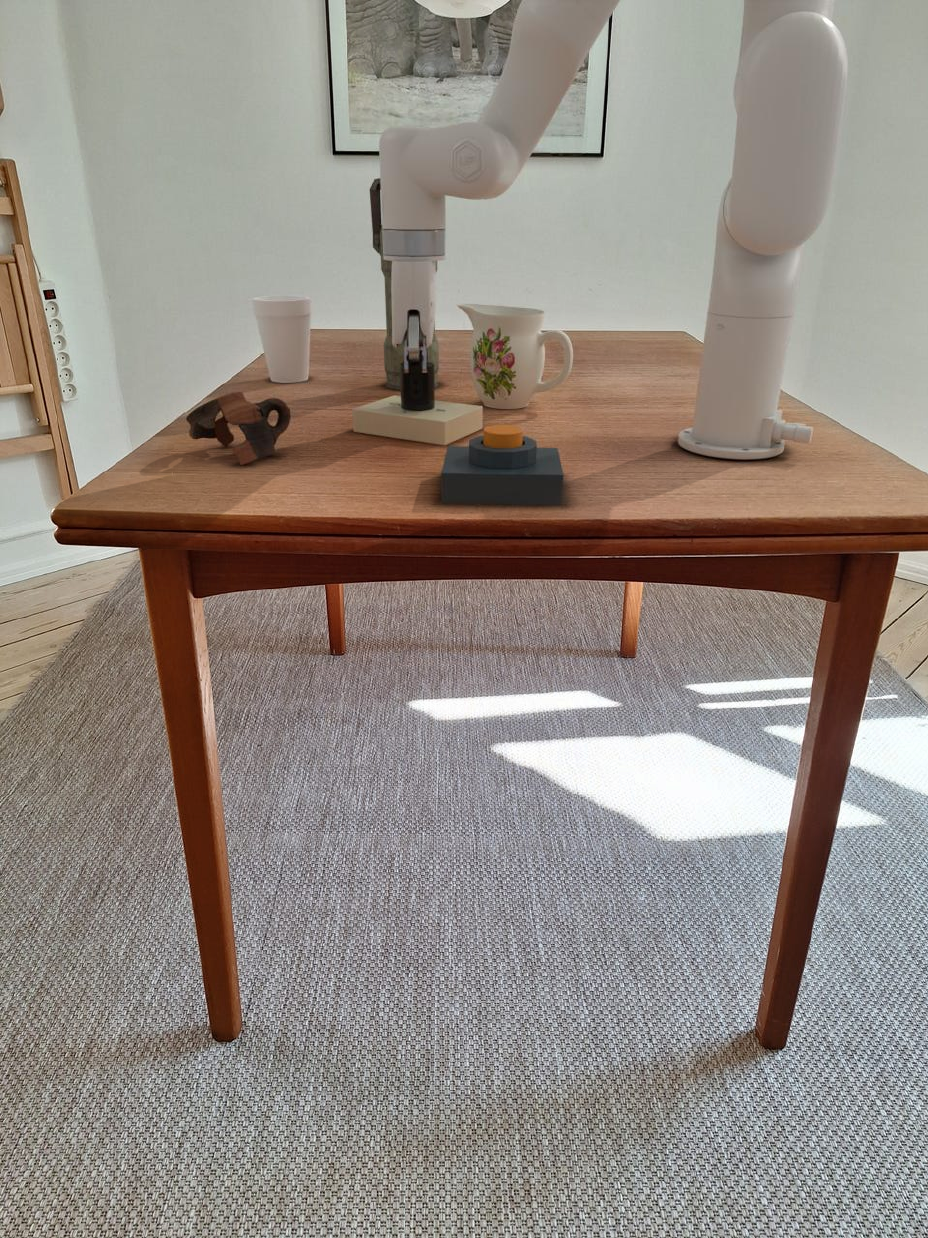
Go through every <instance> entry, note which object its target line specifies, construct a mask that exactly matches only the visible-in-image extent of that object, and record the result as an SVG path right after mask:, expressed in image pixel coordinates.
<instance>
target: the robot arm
mask: <svg viewBox="0 0 928 1238" xmlns="http://www.w3.org/2000/svg"><path fill="white" fill-rule="evenodd" d="M620 1H621V0H521V2H520V3H519V6H518V8H517V11H516V14H515V17H514V21H513V25H512V29H511V30H512V31H511V37H510V44H509V48H508V53H507V57H506V61H505V64H504V67H503V69H502V73H501V75H500V78H499V79H498V82H497V85H496V86H495V89H494V91H492V94H491V95H490V98H489V100H488V102H487V104H486V105H485V107H484V109H483V111H482V112H481V114H480V116H479V118H478V119H477V121H469V122H462V123H456V124H451V125H445V126H439V127H438V126H437V127H430V126H418V125H402V126H401V125H400V126H392V127H388V128H386V129H385V130H383V131H382V133H381V134H380V136H379V142H378V143H379V144H378V153H379V156H378V157H379V178H380V183H381V190H380V198H381V223H382V229H383V230H382V235H383V254H384V255H383V260H389V261H392V275H391V297H392V345H393V346H394V347H395V348H398V346H399V344H402V341H403V339H404V370H405V372H403V386H404V404H405V405H428V404H429V372H427V362H428V347H429V346H430V345H431V344H432V339H433V332H434V323H435V324H436V298H437V297H436V296H437V295H436V294H437V293H436V292H437V291H436V289H437V287H436V284H437V283H436V282H437V281H436V279H437V278H436V277H437V276H436V275H437V272H436V269H435V261H437V262H438V261H440V262H441V261H446V197H454V198H459V199H465V200H473V201H475V200H478V201H479V200H492V199H495V198H498V197H500V196H501V195H503V194H504V193H505V192H506V191H508V189H510V188H511V186H512V185H513V184H514V182H515V181H516V180H517V178H518V176H519V175H520V173H521V172H522V170H523V168H524V167H525V165H526V164H527V162H528V160H529V159H530V157H531V155H532V154H533V152H534V151H535V149H536V147H537V146H538V144H539V142H540V141H541V139H542V137H543V136H544V135H545V132H546V130H547V129H548V127H549V126H550V123H551V121H552V120H553V118H554V116H555V114H556V112H557V111H558V109H559V107H560V105H561V103H562V101H563V99H564V98H565V96H566V95H567V92H568V91H569V90H570V88H571V86H572V84H573V83H574V81H575V79H576V77H577V75H578V73H579V71H580V69H581V66H582V64H583V63H584V61H585V59H586V58H587V56H588V54H589V52H590V51H591V49H592V48H593V46H594V44H595V43H596V41H597V39H598V38H599V36H600V34H602V31H603V29H604V28H605V26H606V24H607V23H608V21H609V20H610V18H611V16H612V15H613V13H614V11H615V10H616V8H617V7H618V5H619V3H620ZM835 1H836V0H744V2H743V16H742V26H741V37H740V46H739V55H738V63H737V68H736V69H737V70H736V73H735V76H734V77H735V78H734V83H733V94H732V95H733V105H734V108H735V112H736V115H737V116H736V128H735V139H734V150H733V160H732V161H733V162H732V172H731V177H730V179H729V181H728V182H727V184H726V186H725V188H724V190H723V193H722V195H721V199H720V203H719V207H718V214H717V223H716V235H715V247H714V257H713V267H712V275H711V283H710V292H709V299H708V307H707V312H706V313H707V314H706V320H705V328H704V335H703V336H704V337H703V344H702V351H701V352H702V353H701V359H700V367H699V375H698V381H697V388H696V389H697V390H696V397H695V403H694V413H693V419H692V427H689V428H686V429H683V430H681V431H680V432H679V433H678V437H677V444H678V445H679V446H680V447H681V448H683V449H685V450H686V451H688V452H690V453H694V454H697V455H701V456H705V457H711V458H717V459H727V460H745V461H747V460H748V461H749V460H762V459H763V460H765V459H770V458H773V457H776V456H779V455H780V454H782V453H783V452H784V449H785V441H792V442H793V443H798V444H799V443H801V444H808V445H809V444H811V441H812V438H813V433H814V426H807V425H806V423H800V422H788V421H787V422H786V419H782V416H783V410H782V409H778V406H779V401H780V395H781V391H782V384H783V378H784V372H785V367H786V361H787V357H788V356H787V355H788V349H789V344H790V338H791V333H792V326H793V322H794V316H795V313H796V306H797V301H798V297H799V290H800V282H801V275H802V268H803V260H804V259H803V258H804V249H805V243H806V242H807V241H808V240H809V239H810V238H811V237H812V236H813V235H814V234H815V233H816V231H817V230H818V229H819V227H820V225H821V224H822V222H823V221H824V219H825V216H826V213H827V211H828V208H829V205H830V201H831V195H832V191H833V185H834V180H835V173H836V167H837V159H838V154H839V147H840V146H839V145H840V139H841V131H842V125H843V117H844V111H845V103H846V95H847V88H848V78H849V77H848V75H849V61H848V58H849V57H848V50H847V46H846V42H845V39H844V38H843V35H842V33H841V31H840V30H839V28H838V27H837V26H836V25H835V24H834V22H833V20H834V19H833V17H834V10H835Z"/></svg>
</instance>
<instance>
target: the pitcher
mask: <svg viewBox="0 0 928 1238" xmlns="http://www.w3.org/2000/svg"><path fill="white" fill-rule="evenodd" d="M456 306H457V307H458V308H459V309H460V310H461V311H463V312H464V313H465V314H466V315H467V317H468V319H469V321H470V323H471V326H472V330H473V334H472V337H471V341H470V347H469V366H470V374H471V378H472V382H473V385H474V388H475V391H476V393H477V395H478V397H479V399H480V401H482V403H483V405H484V406H485V407H486V408H491V409H497V410H517V409H523V408H526V407H528V406H529V404H530V403H531V401H532V400H533V398H534V397H535V395H537V394H539V393H545V392H549V391H552V390H554V389H557V388H558V387H559V386H561V385H562V384H563V383H564V382H565V381H566V380H567V379H568V377H569V376H570V373H571V371H572V369H573V362H574V349H573V344H572V342H571V339H570V337H569V336H568V334H566V332H564V331H562V330H560V329H551V330H548V331H545V332H542V326H543V322H544V318H545V311H544V310H542V309H538V308H537V309H536V308H529V307H518V306H507V305H493V304H478V303H477V304H475V303H458V304H456ZM550 340H557V341H558V342H560V344H561V346H562V348H563V353H564V361H563V365H562V368H561V370H560V372H559V373H558V374H557V375H556V376H555V377H554V378H552V379H551V380H549V381H545V382H542V377H543V373H544V367H545V359H546V349H545V344H546V342H548V341H550Z"/></svg>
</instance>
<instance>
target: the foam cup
mask: <svg viewBox="0 0 928 1238" xmlns="http://www.w3.org/2000/svg"><path fill="white" fill-rule="evenodd" d="M251 301H252V309H253V310H252V311H253V315H255V320H256V324H257V329H258V333H259V337H260V341H261V345H262V349H263V354H264V360H265V363H266V366H267V371H268V376H269V377H270V381H271V382H273V383H278V384H279V383H281V384H293V383H302V382H306V381H307V380H309V374H310V373H309V372H310V350H311V349H310V347H311V329H312V328H311V325H312V314H313V304H312V297H310V296H307V295H294V294H293V295H289V294H286V295H285V294H283V295H282V294H281V295H280V294H279V295H263V296H258V297H257V296H256V297H255V296H254V297H253V298H252V299H251Z"/></svg>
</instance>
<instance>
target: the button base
mask: <svg viewBox="0 0 928 1238" xmlns="http://www.w3.org/2000/svg"><path fill="white" fill-rule="evenodd" d="M440 477H441V478H440V480H441V481H440V482H441V483H440V488H441V491H440V492H441V496H440V497H441V504H456V505H457V504H458V505H459V504H463V505H464V504H465V505H467V504H468V505H510V506H511V505H513V506H515V505H516V506H517V505H518V506H562V505H563V491H564V489H563V488H564V471H563V467H562V463H561V457H560V452H559V449H558V447H538V444H537V440H535V439H533V438H531V437H528V436H525V435H523V438H522V446H521V447H516V448H491V447H486V446H484V445H483V435H478V436H476V437H473V438H471V439H469V443H468V446H462V445H461V446H460V445H459V446H457V445H448V446H447V447H446V452H445V456H444V461H443V464H442V468H441V472H440Z"/></svg>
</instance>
